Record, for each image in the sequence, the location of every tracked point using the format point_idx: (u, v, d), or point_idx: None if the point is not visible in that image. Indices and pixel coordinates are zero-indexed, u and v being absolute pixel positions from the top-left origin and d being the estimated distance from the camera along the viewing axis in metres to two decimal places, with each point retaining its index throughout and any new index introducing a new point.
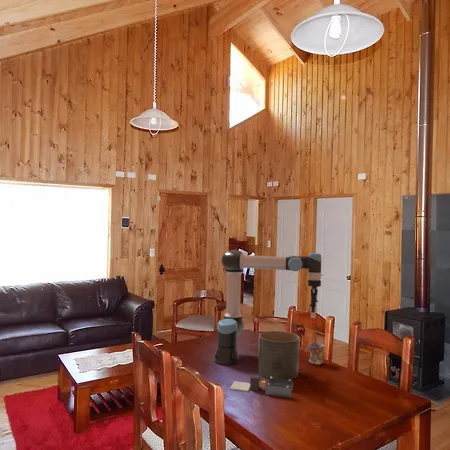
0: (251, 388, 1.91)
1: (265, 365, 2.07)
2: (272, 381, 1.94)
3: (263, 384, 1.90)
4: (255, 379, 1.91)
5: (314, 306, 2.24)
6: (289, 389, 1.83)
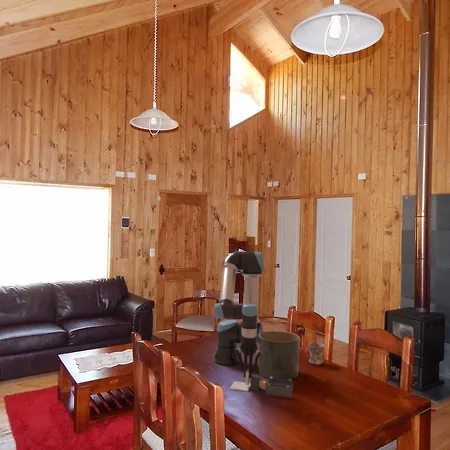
0: (251, 388, 1.91)
1: (265, 365, 2.07)
2: (272, 381, 1.94)
3: (263, 384, 1.90)
4: (255, 379, 1.91)
5: None
6: (289, 389, 1.83)
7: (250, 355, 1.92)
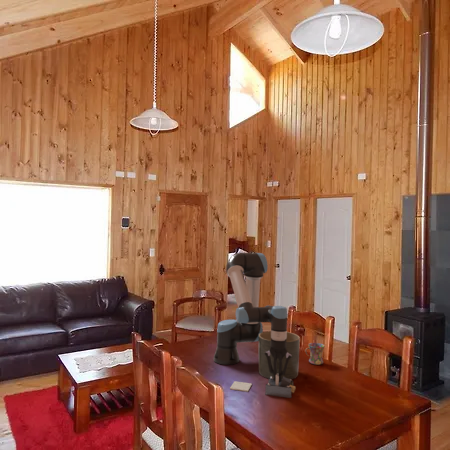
0: None
1: (265, 365, 2.07)
2: (272, 381, 1.94)
3: (293, 389, 1.87)
4: (287, 382, 1.87)
5: (273, 373, 1.89)
6: (289, 389, 1.83)
7: (280, 358, 1.88)
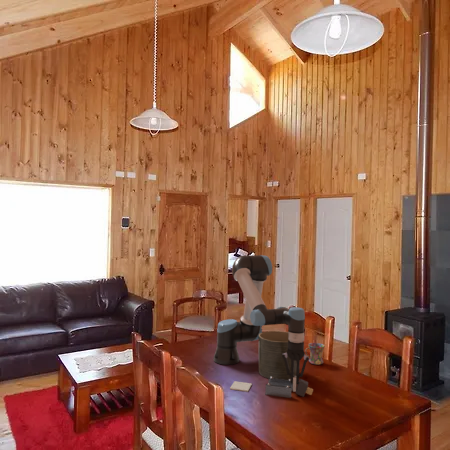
0: (297, 392, 1.85)
1: (265, 365, 2.07)
2: (272, 381, 1.94)
3: (310, 392, 1.85)
4: (304, 385, 1.84)
5: None
6: (289, 389, 1.83)
7: (298, 360, 1.85)
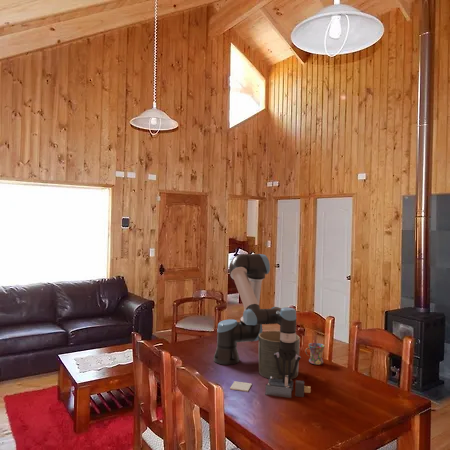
0: (296, 394, 1.85)
1: (265, 365, 2.07)
2: (272, 381, 1.94)
3: (309, 390, 1.85)
4: (300, 385, 1.85)
5: (282, 375, 1.89)
6: (289, 389, 1.83)
7: (289, 360, 1.87)
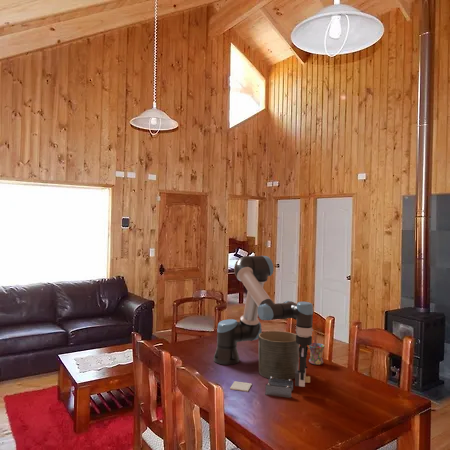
0: (296, 384, 1.86)
1: (265, 365, 2.07)
2: (272, 381, 1.94)
3: (308, 380, 1.85)
4: None
5: (303, 373, 1.83)
6: (289, 389, 1.83)
7: None
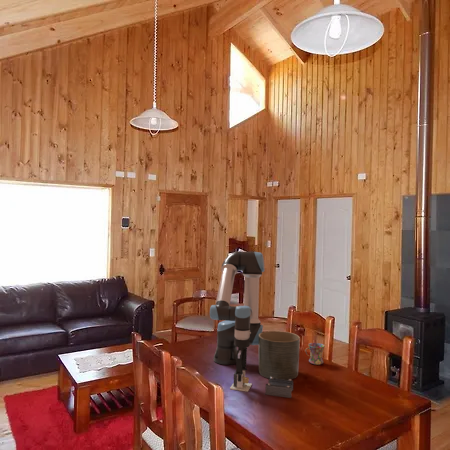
0: (234, 385, 1.93)
1: (265, 365, 2.07)
2: (272, 381, 1.94)
3: (246, 380, 1.93)
4: None
5: (240, 374, 1.90)
6: (289, 389, 1.83)
7: (245, 354, 1.96)
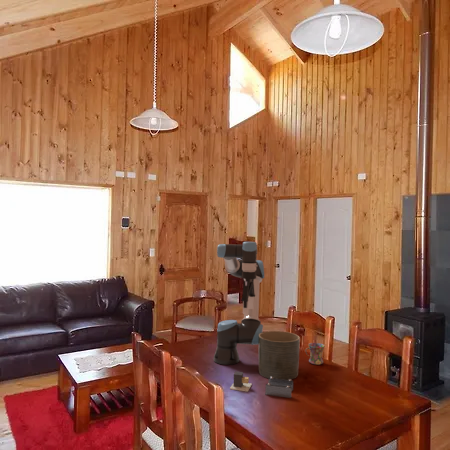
0: (234, 385, 1.93)
1: (265, 365, 2.07)
2: (272, 381, 1.94)
3: (246, 380, 1.93)
4: (238, 376, 1.93)
5: (246, 301, 1.99)
6: (289, 389, 1.83)
7: (252, 286, 2.10)
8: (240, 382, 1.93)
